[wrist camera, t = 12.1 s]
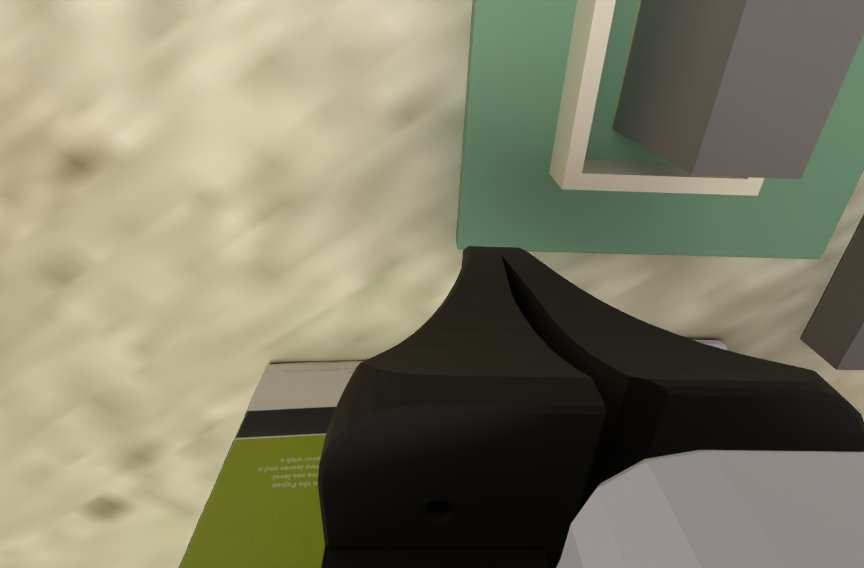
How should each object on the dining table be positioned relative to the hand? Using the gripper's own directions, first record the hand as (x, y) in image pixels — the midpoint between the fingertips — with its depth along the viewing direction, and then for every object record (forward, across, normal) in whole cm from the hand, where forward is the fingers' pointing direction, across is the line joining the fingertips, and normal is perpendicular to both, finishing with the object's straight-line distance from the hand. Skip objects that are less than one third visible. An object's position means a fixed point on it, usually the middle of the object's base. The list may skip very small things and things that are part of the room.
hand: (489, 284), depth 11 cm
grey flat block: (+9, -22, +3) cm, 24 cm away
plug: (+8, -7, -5) cm, 12 cm away
